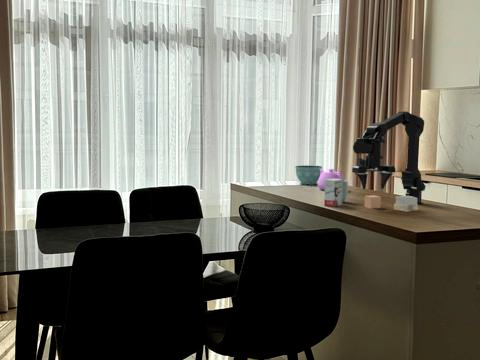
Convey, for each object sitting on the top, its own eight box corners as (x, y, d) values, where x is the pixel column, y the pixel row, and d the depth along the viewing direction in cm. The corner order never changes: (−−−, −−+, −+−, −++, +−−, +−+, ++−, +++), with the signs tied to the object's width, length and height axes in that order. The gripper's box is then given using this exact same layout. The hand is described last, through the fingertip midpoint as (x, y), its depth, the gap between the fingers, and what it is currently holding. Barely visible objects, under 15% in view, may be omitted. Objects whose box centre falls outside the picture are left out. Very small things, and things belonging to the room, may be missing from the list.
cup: (349, 201, 264) (349, 180, 263) (344, 203, 257) (345, 181, 256) (333, 200, 267) (333, 179, 266) (328, 202, 260) (329, 181, 259)
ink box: (333, 207, 246) (334, 180, 245) (323, 205, 249) (324, 179, 248) (342, 204, 253) (343, 178, 251) (332, 203, 256) (333, 178, 254)
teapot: (350, 191, 304) (351, 169, 302) (330, 192, 298) (330, 170, 296) (328, 187, 321) (329, 167, 320) (309, 188, 315) (309, 167, 314)
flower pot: (294, 185, 332) (294, 166, 330) (295, 182, 347) (296, 164, 346) (321, 186, 329) (322, 167, 328) (322, 183, 345) (322, 165, 344)
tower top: (409, 202, 244) (409, 195, 243) (417, 204, 237) (417, 197, 237) (395, 203, 242) (396, 196, 242) (403, 205, 236) (403, 198, 236)
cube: (374, 206, 249) (374, 195, 249) (380, 208, 245) (381, 196, 244) (364, 206, 248) (364, 195, 247) (370, 208, 243) (371, 197, 242)
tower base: (405, 209, 245) (405, 202, 244) (417, 211, 239) (417, 204, 238) (393, 210, 241) (393, 203, 241) (405, 212, 235) (406, 205, 235)
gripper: (382, 152, 254) (381, 186, 256) (346, 152, 248) (345, 187, 250) (396, 153, 244) (395, 189, 245) (359, 154, 238) (358, 190, 239)
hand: (373, 189), depth 245 cm, fingers open, 9 cm apart
